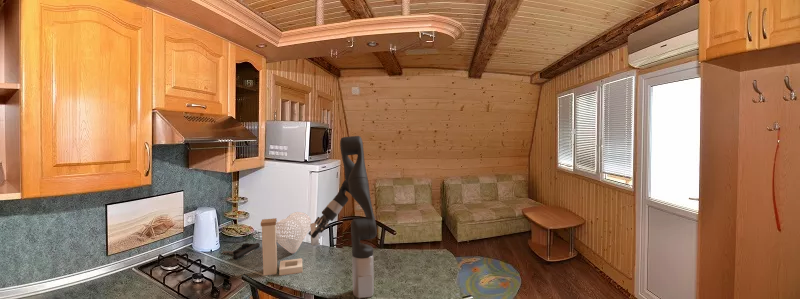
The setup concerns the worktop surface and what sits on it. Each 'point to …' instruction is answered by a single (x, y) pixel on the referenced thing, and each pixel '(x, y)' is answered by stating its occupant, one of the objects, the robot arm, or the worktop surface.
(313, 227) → the steel pin
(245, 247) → the door handle
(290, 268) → the slotted post
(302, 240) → the heart
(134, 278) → the worktop surface
